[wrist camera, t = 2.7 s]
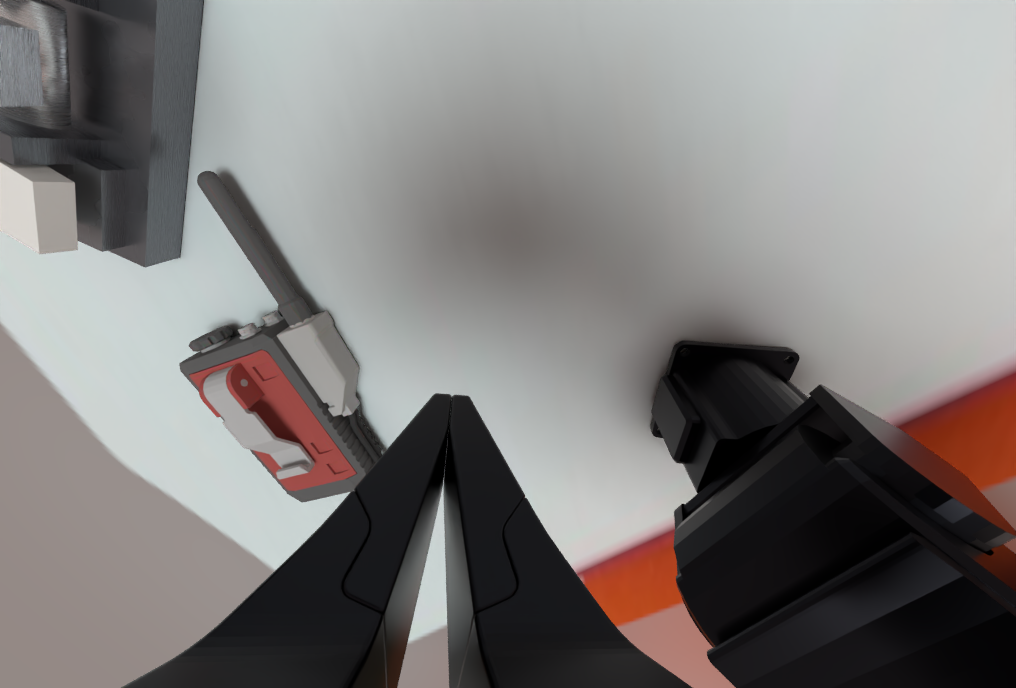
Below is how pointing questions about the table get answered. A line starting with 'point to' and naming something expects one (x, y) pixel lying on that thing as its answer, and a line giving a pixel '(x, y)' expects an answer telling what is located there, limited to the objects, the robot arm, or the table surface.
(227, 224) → the walkie-talkie
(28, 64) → the ball-topped post
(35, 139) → the slide switch base
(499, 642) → the robot arm
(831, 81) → the table surface
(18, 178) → the white block
